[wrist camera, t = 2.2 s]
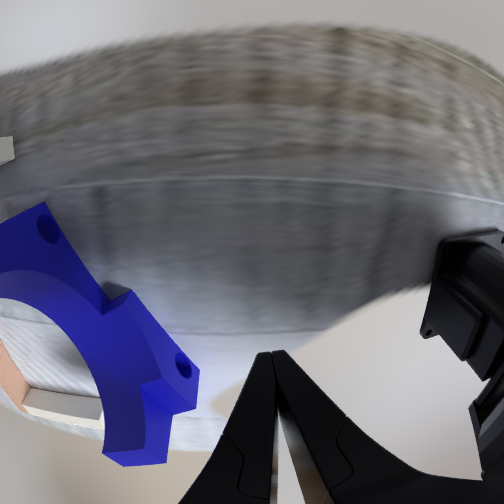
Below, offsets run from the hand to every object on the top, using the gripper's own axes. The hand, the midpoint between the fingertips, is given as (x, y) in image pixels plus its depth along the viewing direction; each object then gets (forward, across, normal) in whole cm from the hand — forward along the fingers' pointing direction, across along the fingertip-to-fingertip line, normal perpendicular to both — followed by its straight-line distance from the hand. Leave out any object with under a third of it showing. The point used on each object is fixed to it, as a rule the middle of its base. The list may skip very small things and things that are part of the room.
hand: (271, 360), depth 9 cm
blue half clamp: (+5, +8, 0) cm, 10 cm away
